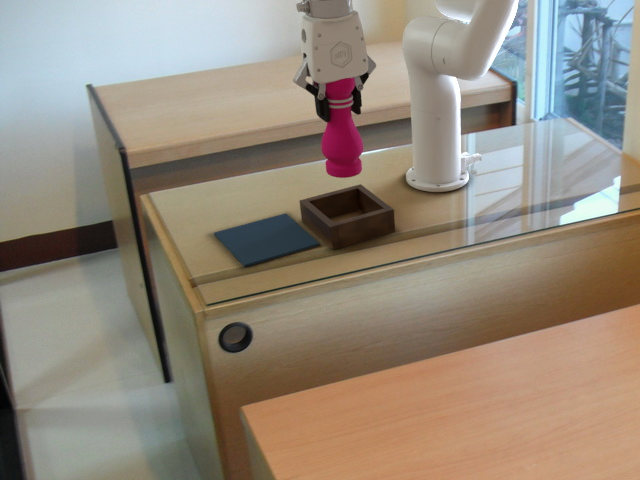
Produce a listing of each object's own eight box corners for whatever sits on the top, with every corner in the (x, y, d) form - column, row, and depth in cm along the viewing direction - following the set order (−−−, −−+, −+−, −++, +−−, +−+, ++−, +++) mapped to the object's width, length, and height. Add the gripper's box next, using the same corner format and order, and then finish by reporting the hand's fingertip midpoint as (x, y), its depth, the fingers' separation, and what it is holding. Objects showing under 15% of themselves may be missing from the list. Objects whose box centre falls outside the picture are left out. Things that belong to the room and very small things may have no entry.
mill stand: (362, 205, 179) (360, 184, 177) (395, 231, 171) (394, 209, 168) (301, 222, 173) (299, 200, 171) (332, 250, 165) (330, 227, 162)
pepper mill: (369, 164, 168) (362, 51, 156) (358, 180, 162) (350, 65, 151) (330, 161, 169) (320, 48, 157) (318, 177, 163) (306, 62, 151)
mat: (286, 215, 175) (285, 213, 175) (319, 245, 166) (319, 243, 166) (214, 235, 169) (213, 232, 169) (244, 267, 160) (244, 264, 159)
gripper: (289, 20, 143) (303, 134, 154) (387, 2, 150) (394, 112, 161) (268, 8, 148) (284, 119, 159) (364, -9, 155) (373, 98, 166)
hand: (339, 114), depth 160 cm, fingers closed on pepper mill, 5 cm apart
